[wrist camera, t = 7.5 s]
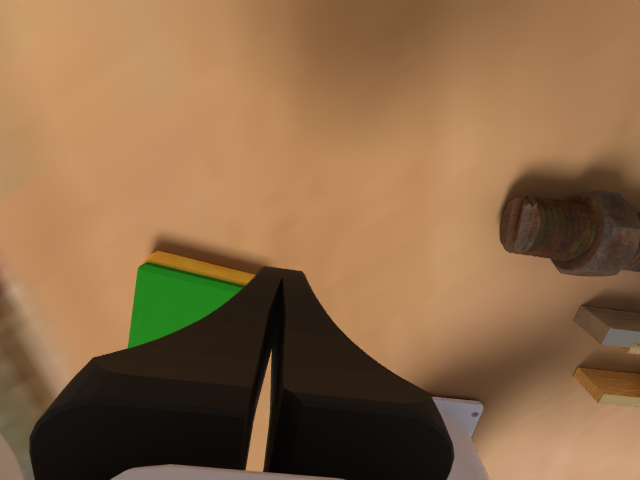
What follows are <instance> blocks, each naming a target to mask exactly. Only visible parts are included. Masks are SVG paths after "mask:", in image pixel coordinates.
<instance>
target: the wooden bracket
mask: <svg viewBox="0 0 640 480" xmlns="http://www.w3.org/2000/svg"><path fill="white" fill-rule="evenodd" d="M638 344H639V345H638ZM621 348H623V349H624V350H625V351H626V352H627V353H633V354H640V343H634V345H632V347H631V348H628V347H621ZM638 348H639V349H638ZM573 376H574V377H575V378H576V379H577V381H578V382H579V383H580V384H581V385H582V386H583V387H584V388H585V389H586V390H587V391H588V392H589V394H590V395H591V396H592V397H593V398H594V399H595V400H596V401H597V402H598V403H602V404H612V405H622V406H632V407H640V374H636V373H626V372H617V371H608V370H598V369H589V368H580V367H578V368H577V369H576V371H575V373H574V375H573Z"/></svg>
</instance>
